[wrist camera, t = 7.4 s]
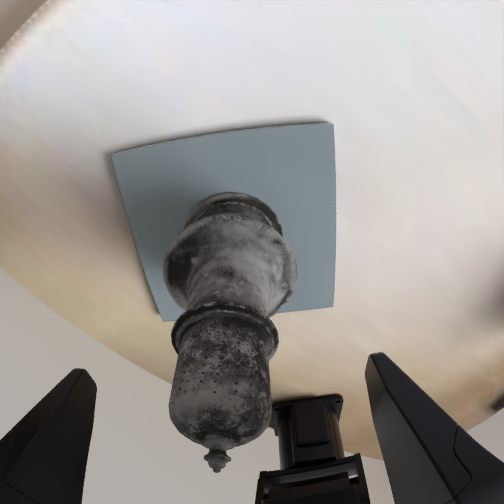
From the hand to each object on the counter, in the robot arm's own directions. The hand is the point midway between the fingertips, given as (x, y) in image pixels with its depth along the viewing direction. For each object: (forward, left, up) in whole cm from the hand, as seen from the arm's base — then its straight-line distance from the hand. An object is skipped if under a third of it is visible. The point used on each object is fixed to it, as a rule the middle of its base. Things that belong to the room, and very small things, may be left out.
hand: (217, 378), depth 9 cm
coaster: (0, 0, -10) cm, 10 cm away
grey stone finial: (0, 0, -9) cm, 9 cm away
